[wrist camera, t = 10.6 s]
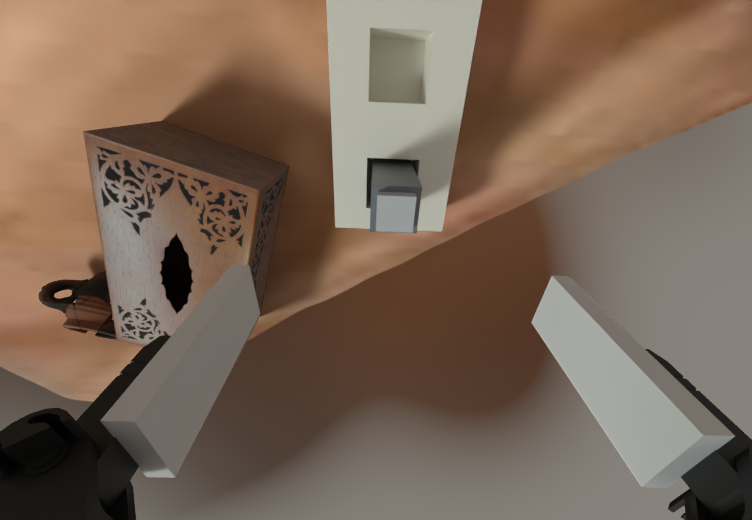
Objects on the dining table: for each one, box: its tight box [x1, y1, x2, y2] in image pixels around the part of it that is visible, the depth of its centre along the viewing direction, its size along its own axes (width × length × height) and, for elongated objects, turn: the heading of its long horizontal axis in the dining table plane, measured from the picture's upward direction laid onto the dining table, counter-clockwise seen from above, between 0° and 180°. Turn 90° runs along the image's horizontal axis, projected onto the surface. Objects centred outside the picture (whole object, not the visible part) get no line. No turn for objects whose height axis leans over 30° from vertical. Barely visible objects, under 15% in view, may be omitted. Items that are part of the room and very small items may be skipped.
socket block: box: [326, 0, 482, 231], centre depth 29 cm, size 12×20×6 cm, turn 178°
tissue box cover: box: [83, 121, 289, 366], centre depth 35 cm, size 26×14×10 cm, turn 160°
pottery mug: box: [39, 272, 117, 339], centre depth 42 cm, size 12×10×8 cm
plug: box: [370, 158, 422, 233], centre depth 28 cm, size 4×4×13 cm
